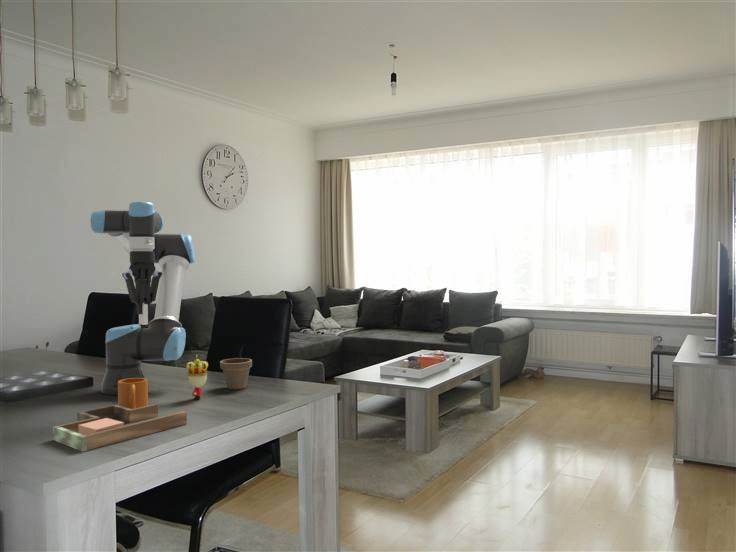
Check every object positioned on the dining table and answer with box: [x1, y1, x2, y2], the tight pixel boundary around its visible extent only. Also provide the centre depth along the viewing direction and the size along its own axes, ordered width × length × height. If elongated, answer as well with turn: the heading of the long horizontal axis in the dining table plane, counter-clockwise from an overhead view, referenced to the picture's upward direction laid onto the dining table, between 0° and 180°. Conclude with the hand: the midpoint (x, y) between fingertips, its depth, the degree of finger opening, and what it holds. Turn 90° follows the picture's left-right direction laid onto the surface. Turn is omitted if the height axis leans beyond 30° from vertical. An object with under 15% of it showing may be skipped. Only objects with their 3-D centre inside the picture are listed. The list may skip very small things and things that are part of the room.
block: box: [79, 418, 125, 436], centre depth 158 cm, size 8×8×4 cm
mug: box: [117, 377, 149, 409], centre depth 186 cm, size 9×12×9 cm
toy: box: [185, 355, 209, 401], centre depth 200 cm, size 7×7×15 cm
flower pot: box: [219, 357, 253, 390], centre depth 217 cm, size 12×11×10 cm
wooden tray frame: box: [52, 403, 188, 453], centre depth 166 cm, size 25×30×4 cm
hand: (143, 324), depth 190 cm, fingers closed
